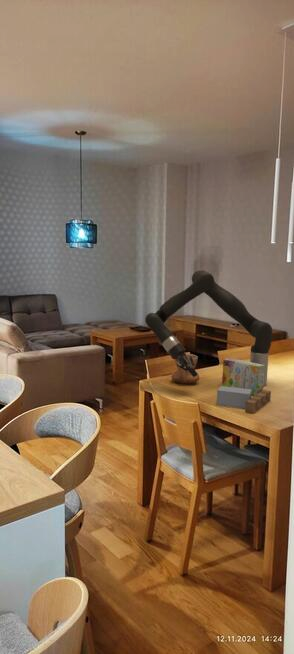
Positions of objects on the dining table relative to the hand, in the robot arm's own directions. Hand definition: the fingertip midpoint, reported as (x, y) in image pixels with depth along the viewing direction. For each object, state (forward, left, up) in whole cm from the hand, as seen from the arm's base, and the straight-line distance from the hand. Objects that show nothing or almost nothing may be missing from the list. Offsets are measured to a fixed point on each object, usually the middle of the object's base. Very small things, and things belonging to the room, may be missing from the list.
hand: (195, 375), depth 223 cm
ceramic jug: (-19, -15, -10) cm, 26 cm away
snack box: (-22, +15, -10) cm, 28 cm away
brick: (+2, +20, -10) cm, 23 cm away
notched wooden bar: (-3, +30, -10) cm, 31 cm away
